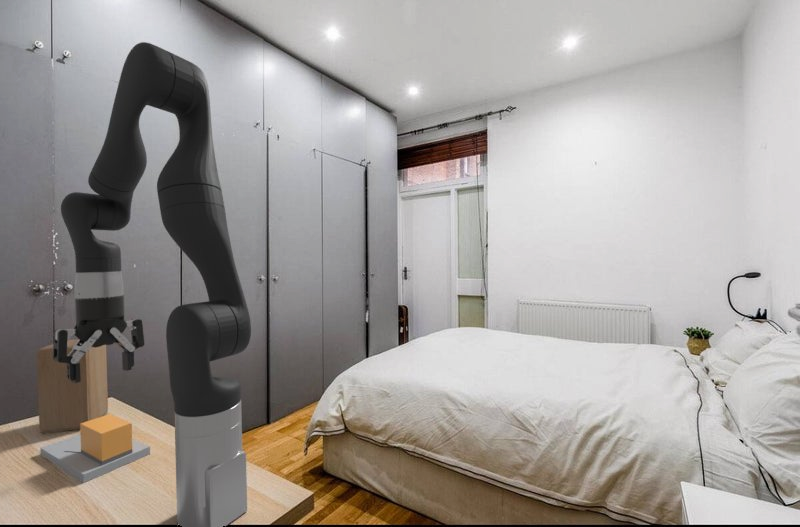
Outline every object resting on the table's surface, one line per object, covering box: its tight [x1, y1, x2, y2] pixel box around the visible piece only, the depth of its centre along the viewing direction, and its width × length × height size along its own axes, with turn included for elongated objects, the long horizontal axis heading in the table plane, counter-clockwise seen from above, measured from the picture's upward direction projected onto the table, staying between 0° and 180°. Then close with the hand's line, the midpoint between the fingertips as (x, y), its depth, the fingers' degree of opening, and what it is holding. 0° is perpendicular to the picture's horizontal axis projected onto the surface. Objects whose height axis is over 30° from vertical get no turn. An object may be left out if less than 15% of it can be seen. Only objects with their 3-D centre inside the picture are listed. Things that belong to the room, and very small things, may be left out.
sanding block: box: [79, 413, 133, 465], centre depth 73 cm, size 9×5×6 cm, turn 61°
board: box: [39, 433, 151, 484], centre depth 75 cm, size 20×11×2 cm, turn 61°
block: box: [36, 338, 109, 434], centre depth 90 cm, size 10×10×20 cm
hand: (102, 375), depth 73 cm, fingers open, 8 cm apart
